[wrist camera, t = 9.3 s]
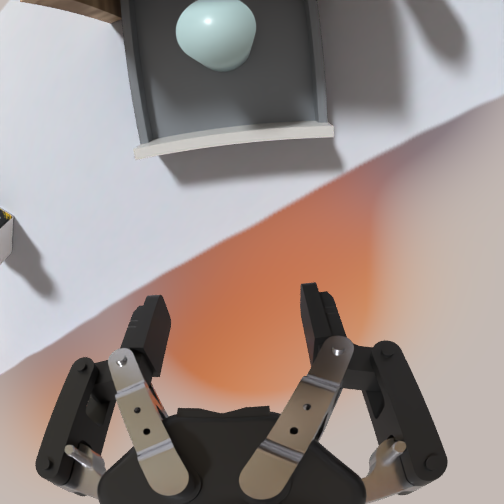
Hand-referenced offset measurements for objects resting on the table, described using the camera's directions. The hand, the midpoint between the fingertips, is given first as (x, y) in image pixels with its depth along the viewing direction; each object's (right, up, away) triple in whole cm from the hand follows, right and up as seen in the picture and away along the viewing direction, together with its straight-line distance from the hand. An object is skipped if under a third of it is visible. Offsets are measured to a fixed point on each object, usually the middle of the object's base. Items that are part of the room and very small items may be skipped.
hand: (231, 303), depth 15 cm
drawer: (-2, +21, +7) cm, 22 cm away
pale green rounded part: (-1, +21, +6) cm, 22 cm away
